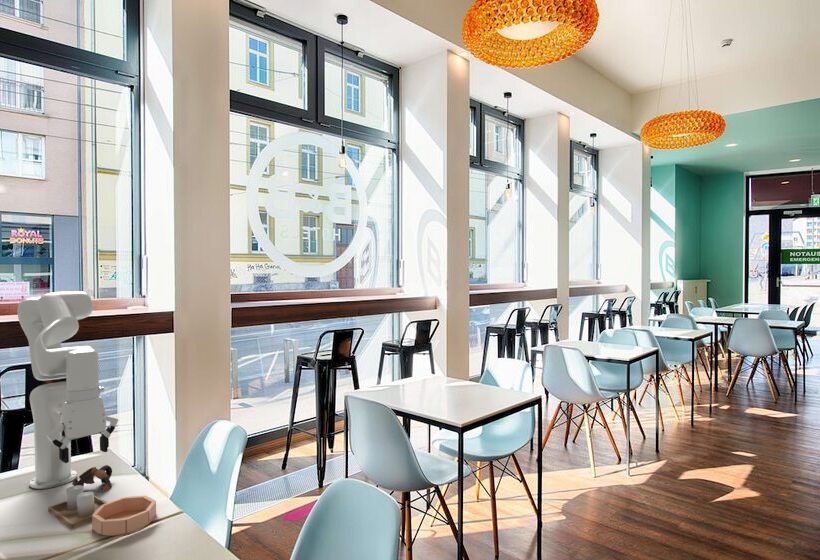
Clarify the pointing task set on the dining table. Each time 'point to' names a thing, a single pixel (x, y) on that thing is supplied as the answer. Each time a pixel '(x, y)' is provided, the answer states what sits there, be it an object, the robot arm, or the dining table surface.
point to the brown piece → (100, 473)
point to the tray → (73, 513)
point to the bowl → (124, 515)
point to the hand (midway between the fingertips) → (84, 456)
